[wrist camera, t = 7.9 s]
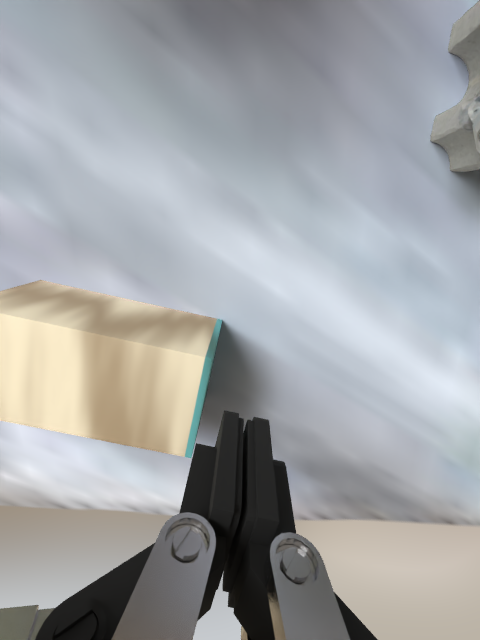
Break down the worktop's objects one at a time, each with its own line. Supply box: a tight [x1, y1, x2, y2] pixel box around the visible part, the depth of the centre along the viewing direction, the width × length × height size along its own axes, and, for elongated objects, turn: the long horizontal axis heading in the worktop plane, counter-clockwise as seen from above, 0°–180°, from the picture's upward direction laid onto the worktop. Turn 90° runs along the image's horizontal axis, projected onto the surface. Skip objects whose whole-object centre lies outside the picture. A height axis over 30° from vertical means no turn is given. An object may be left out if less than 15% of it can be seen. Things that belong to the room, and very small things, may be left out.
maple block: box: [0, 280, 222, 458], centre depth 15 cm, size 5×5×10 cm
